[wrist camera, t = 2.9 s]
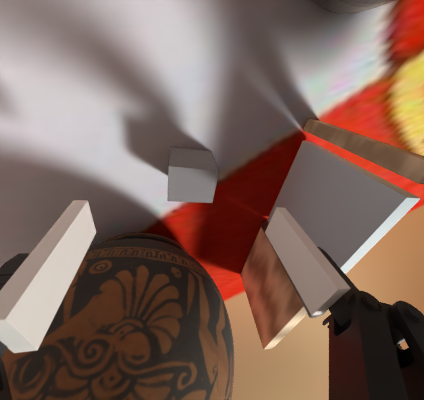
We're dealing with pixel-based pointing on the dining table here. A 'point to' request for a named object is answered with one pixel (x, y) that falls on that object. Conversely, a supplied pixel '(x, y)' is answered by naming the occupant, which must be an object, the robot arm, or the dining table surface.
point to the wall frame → (270, 262)
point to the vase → (132, 330)
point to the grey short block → (191, 175)
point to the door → (340, 203)
